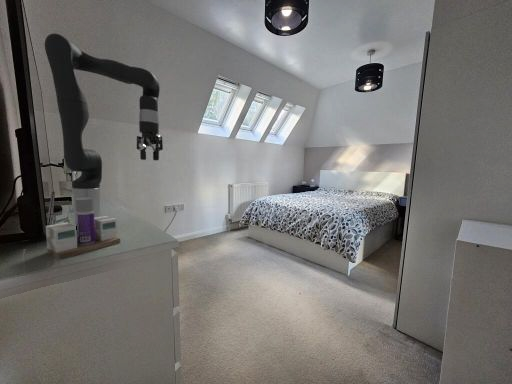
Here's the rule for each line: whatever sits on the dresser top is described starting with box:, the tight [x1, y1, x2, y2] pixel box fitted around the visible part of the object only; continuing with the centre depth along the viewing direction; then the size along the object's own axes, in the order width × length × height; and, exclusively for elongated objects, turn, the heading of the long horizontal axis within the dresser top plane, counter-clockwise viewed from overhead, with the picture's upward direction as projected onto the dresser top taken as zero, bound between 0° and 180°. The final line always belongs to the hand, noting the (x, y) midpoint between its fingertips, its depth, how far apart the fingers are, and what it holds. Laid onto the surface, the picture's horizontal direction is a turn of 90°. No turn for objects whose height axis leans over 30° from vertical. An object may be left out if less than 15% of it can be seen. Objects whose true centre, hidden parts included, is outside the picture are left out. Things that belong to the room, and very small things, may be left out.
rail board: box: [45, 215, 121, 260], centre depth 71 cm, size 9×17×8 cm, turn 152°
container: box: [76, 198, 95, 245], centre depth 71 cm, size 5×5×15 cm
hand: (149, 160), depth 94 cm, fingers open, 8 cm apart
